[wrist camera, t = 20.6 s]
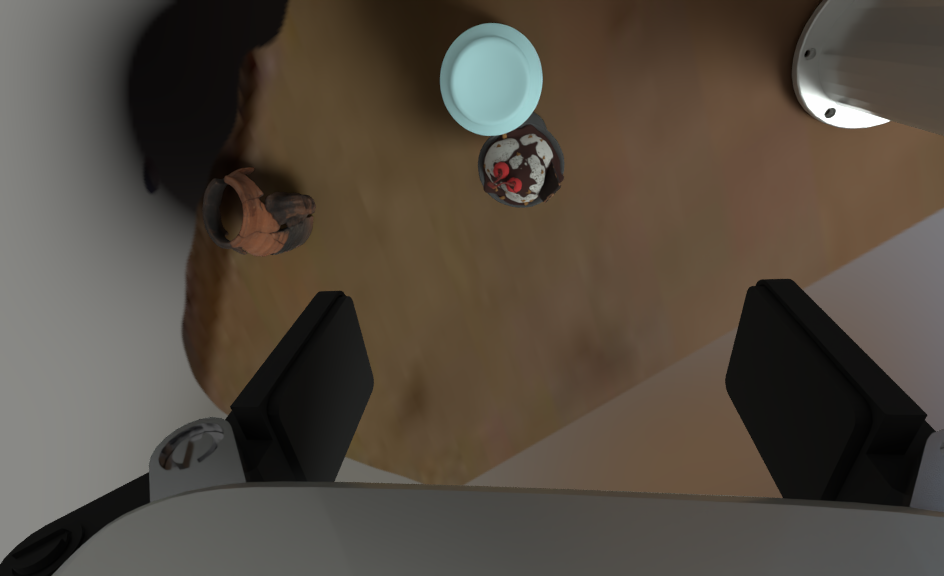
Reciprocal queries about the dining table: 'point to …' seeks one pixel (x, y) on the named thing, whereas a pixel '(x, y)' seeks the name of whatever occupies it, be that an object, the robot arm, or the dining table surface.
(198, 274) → the dining table surface
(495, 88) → the can
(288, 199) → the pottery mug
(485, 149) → the sundae
